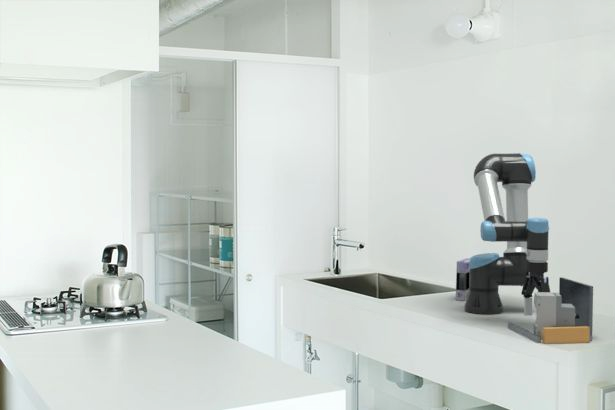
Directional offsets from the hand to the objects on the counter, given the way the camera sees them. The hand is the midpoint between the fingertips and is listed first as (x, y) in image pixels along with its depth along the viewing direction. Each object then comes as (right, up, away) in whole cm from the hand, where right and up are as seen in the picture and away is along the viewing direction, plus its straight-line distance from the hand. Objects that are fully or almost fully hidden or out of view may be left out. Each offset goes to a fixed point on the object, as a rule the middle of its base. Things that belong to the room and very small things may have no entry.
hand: (535, 319), depth 279 cm
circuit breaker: (+2, -4, -16) cm, 16 cm away
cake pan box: (-11, -1, +66) cm, 67 cm away
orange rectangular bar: (+3, -4, -23) cm, 23 cm away
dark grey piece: (+1, -4, -10) cm, 10 cm away
